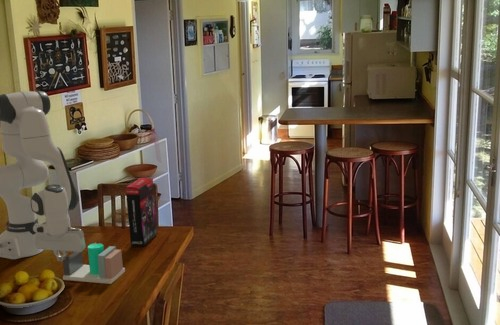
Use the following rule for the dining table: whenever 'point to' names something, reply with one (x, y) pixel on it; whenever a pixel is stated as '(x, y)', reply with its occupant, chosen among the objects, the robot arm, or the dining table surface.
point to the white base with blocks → (101, 268)
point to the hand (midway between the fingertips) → (61, 260)
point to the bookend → (72, 263)
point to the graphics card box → (141, 211)
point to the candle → (94, 257)
